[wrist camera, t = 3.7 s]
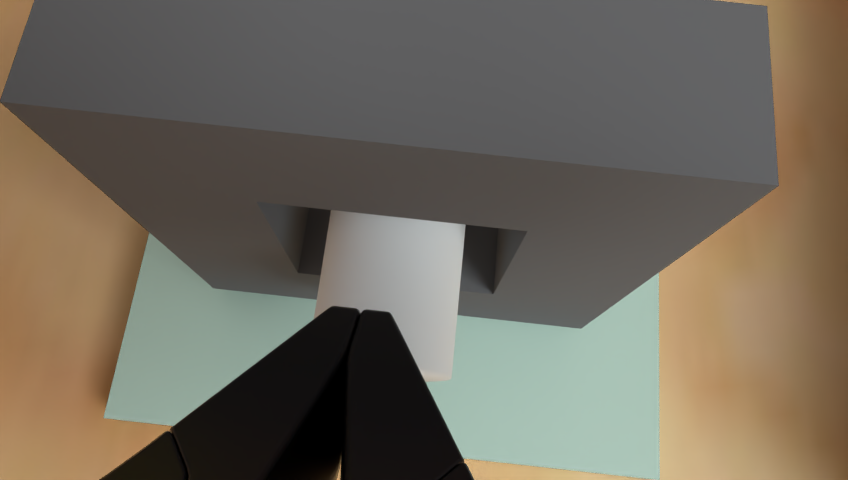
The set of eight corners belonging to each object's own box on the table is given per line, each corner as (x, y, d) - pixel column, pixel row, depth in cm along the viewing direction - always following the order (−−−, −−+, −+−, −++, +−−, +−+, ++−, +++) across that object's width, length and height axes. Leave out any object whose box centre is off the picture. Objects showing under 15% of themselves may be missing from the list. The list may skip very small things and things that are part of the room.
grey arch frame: (581, 329, 20) (778, 186, 9) (213, 288, 20) (-1, 101, 9) (584, 233, 21) (767, 6, 10) (232, 195, 21) (57, -70, 10)
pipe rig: (647, 478, 20) (822, 495, 12) (118, 419, 20) (-89, 393, 12) (648, -157, 28) (753, -423, 19) (266, -197, 28) (205, -478, 19)
